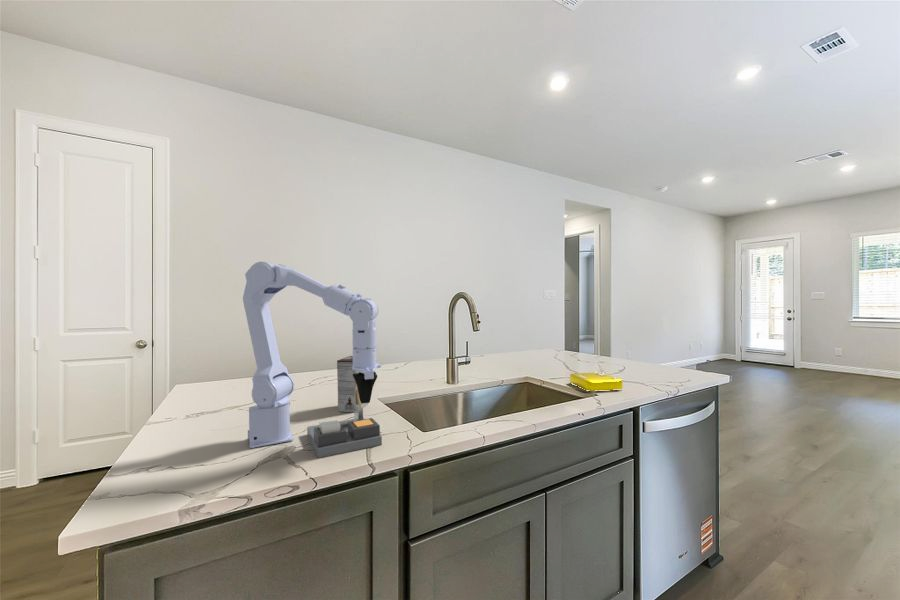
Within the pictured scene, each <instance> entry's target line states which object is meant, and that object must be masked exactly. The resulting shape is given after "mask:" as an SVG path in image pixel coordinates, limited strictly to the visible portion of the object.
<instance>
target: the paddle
mask: <svg viewBox="0 0 900 600" xmlns="http://www.w3.org/2000/svg"><path fill="white" fill-rule="evenodd" d="M353 413H354V418H353V419H354V420H355V421H357V420H362V419H363V418H364V407H363V408H362V407H361V406H360V405H354V412H353Z"/></svg>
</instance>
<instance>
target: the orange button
mask: <svg viewBox="0 0 900 600" xmlns="http://www.w3.org/2000/svg"><path fill="white" fill-rule="evenodd" d="M366 419H367V420H361V421H355V422H353V425H354V426H355V427H356V428H360V427H366V426H371V425H374V424H373V423H372V422H371V421H370V420H369V419H368V418H366Z"/></svg>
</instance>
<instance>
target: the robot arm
mask: <svg viewBox="0 0 900 600" xmlns="http://www.w3.org/2000/svg"><path fill="white" fill-rule="evenodd" d="M244 275H245V280H246V282H245V287H244V291H243V296H242V302H243V307H244V311H245V317H246V321H247V326H248V331H249V335H250V340H251V344H252V349H253V353H254V359H255V364H256V370H255V372H254V375H253V376H252V378H251V379H252V389H251V397H252V400H253V402H254V403H255V405H253V406H249V407H248V430H247V438H248V439H249V448H250V449H253V448H258V447H259V448H260V447H265V446H270V445H275V444H281V443H287V442H292V441H293V440H294V438H293V434H292V432H291V425H290V424H291V423H290V422H291V420H290V419H291V417H290V415H291V413H290V411H291V410H290V395H291V394H292V393H293V391H294V388H295V382H294V380H293V378H292V377H291V376H290V374H289V370H288V367H286V366H285V364H283V363H282V361H281V357H280V352H279V348H278V342H277V339H276V333H275V328H274V325H273V319H272V315H271V309H270V305H269V302H271V300H272V299H273V297H275V295H276V294H278V293H279V292H281V291H282V290H284V289H285V288H286V287H289V286H290V287H291V286H293V287H295V288H296V287H297V288H299V289H301V290H303V291H305V292H308V293H310V294H312V295H315V296H317V297H320V298H322V301H323V303H324V306H326V307H328V308H331V309H333V310H335V311H337V312H339V313H341V314H343V315H345V316H347V317H349V319H350V320H351V321H352V356H353V366H352V370H354V371H358V372H359V373H355V374H352V375H353V377H354V379H355V381H356V384H357V388H358V393H359V398H360V402H361V404H362V403H368V404H369V403H370V402H371V398H372V393H373V388H374V385H375V384H376V380H377V379H378V374H377V372H376V370H377V369H381V368H382V364H381V363H377V328H376V327H377V324H376V323H377V322H376V320H377V319H376V318H377V317H378V315H379V308H378V307H379V306H378V304H377V303H376V302H375V301H374V300H372V299H371V298H363V294H361V293H354V292H352V291H350V290H348V289H346V285H343V284H339V285H338V284H331V285H329V286H328V285H326V284H324V283H322V282H320V281H318V280H317V279H315V278H313V277H311V276H309V275H307V274H305V273H303V272H301V270H298V269H295V268H292V267H288V266H286V265H284V264H276V263H269V262H266V261H257V262H255V263H254V264H252V265H251V267H250V268H249V269H248V270H247V271H246V273H245V274H244Z"/></svg>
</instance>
